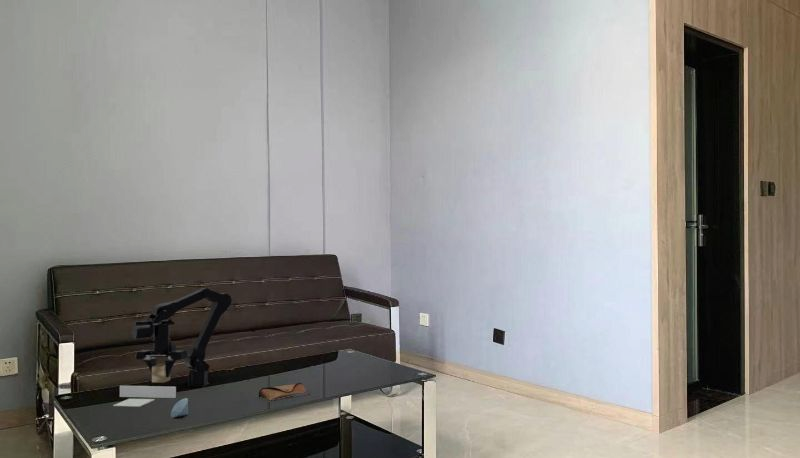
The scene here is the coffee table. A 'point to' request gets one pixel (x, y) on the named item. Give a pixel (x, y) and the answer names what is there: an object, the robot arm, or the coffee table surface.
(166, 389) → the frosted wall
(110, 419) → the coffee table surface
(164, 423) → the coffee table surface
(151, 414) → the coffee table surface
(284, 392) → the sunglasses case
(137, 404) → the pad
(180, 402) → the gemstone
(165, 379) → the maple block
